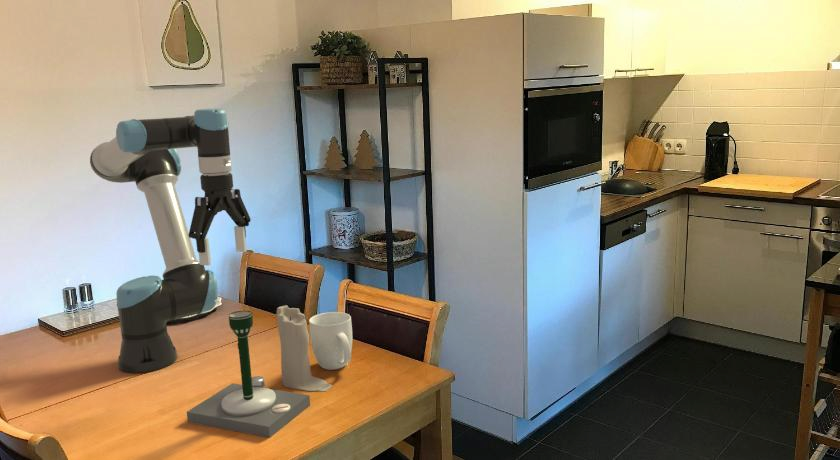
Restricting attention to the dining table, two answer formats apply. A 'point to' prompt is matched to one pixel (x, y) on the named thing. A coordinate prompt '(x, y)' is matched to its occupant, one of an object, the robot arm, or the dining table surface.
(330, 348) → the mug
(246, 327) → the flashlight
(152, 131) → the robot arm
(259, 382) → the spacer
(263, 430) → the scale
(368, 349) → the dining table surface
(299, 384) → the candle
